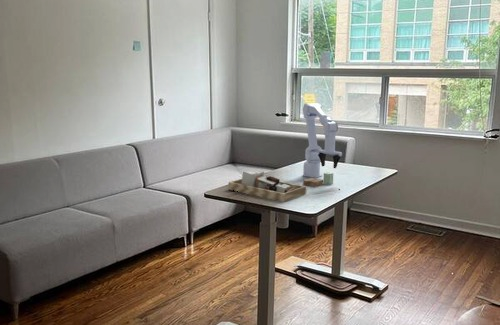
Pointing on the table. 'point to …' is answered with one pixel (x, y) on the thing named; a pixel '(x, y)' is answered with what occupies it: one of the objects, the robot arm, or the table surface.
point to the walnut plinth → (313, 182)
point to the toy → (265, 182)
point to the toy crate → (268, 191)
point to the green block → (328, 178)
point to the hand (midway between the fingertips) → (329, 167)
